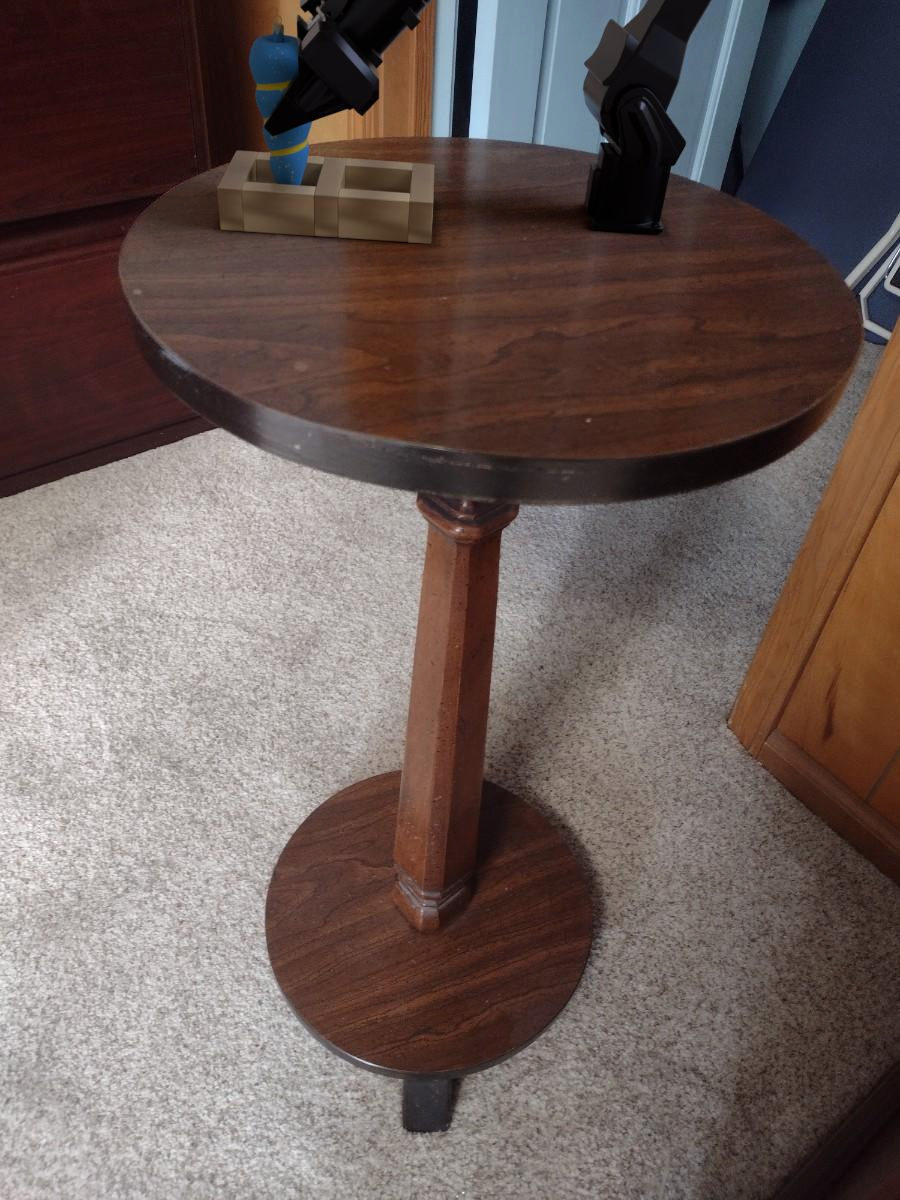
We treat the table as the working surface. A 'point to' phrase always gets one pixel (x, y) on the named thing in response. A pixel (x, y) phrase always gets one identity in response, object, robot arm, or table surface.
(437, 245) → the table surface
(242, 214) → the rack
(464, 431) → the table surface
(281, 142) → the ornament
